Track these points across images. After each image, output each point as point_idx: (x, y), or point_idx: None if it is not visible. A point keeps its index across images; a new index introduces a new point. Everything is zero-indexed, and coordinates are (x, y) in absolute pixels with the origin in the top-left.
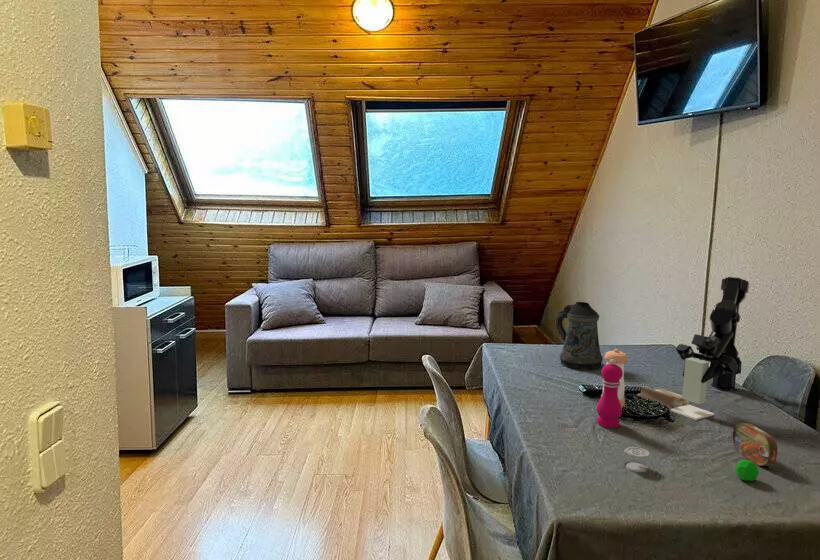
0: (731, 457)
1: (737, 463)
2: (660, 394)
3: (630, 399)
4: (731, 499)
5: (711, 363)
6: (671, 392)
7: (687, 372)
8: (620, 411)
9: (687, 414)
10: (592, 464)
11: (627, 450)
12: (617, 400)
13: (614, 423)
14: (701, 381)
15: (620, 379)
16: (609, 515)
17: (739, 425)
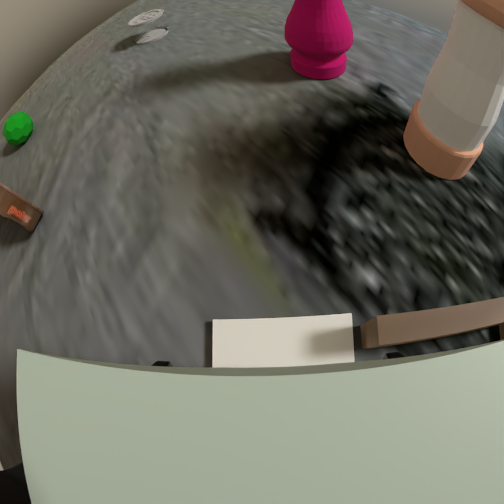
0: (46, 174)
1: (24, 113)
2: (438, 308)
3: (493, 261)
4: (40, 92)
5: (3, 501)
6: None
7: (357, 363)
8: (286, 33)
9: (264, 325)
10: (196, 9)
11: (156, 10)
12: (293, 6)
13: (290, 52)
14: (166, 364)
15: (444, 57)
16: (126, 8)
17: (2, 188)
